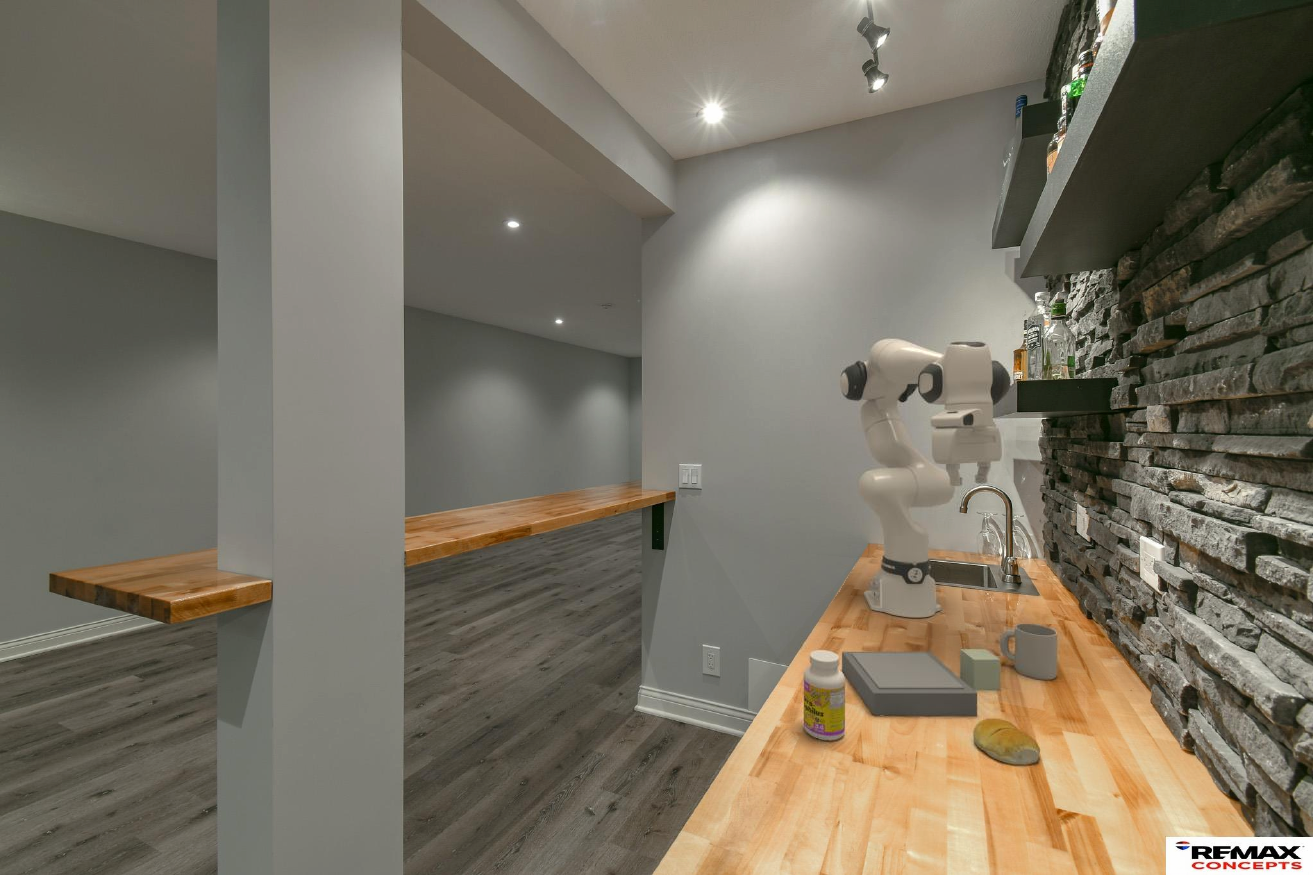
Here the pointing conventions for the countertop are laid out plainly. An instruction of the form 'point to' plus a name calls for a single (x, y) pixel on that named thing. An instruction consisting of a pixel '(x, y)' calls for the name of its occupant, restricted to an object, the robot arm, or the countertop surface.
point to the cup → (1032, 650)
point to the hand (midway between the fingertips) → (968, 484)
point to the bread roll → (1006, 742)
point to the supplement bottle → (824, 696)
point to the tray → (908, 684)
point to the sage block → (980, 669)
